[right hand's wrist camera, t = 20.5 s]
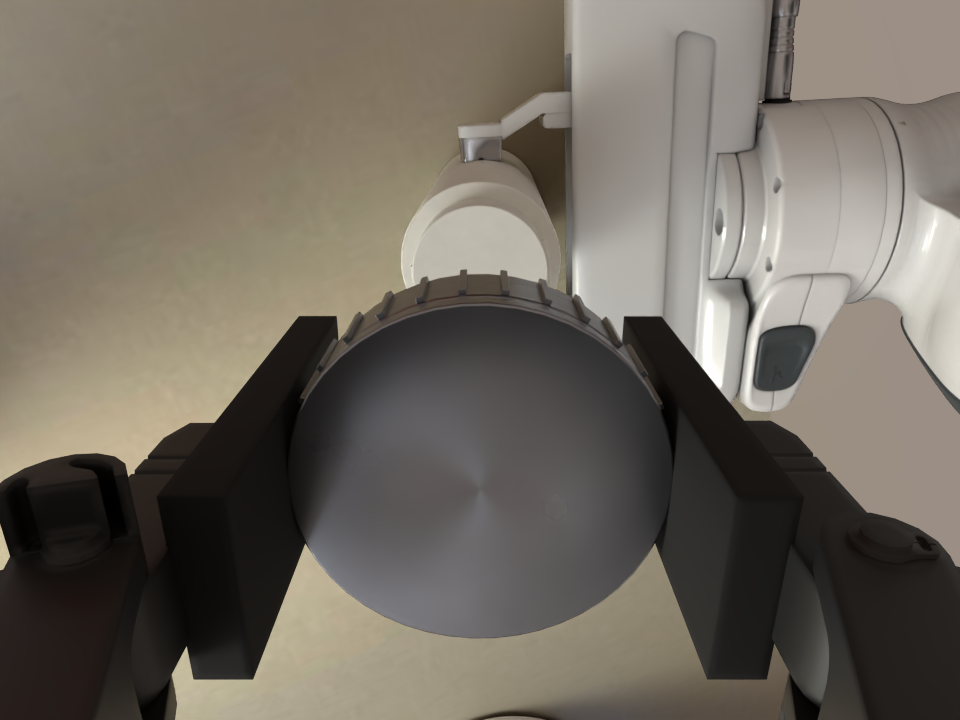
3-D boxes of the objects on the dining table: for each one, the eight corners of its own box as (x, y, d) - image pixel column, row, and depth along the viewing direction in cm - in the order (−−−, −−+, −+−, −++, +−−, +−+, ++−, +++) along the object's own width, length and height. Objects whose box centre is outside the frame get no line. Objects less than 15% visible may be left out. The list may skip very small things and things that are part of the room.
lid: (654, 251, 11) (684, 279, 9) (652, 565, 13) (675, 631, 11) (276, 283, 11) (242, 315, 9) (338, 587, 13) (318, 654, 11)
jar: (456, 265, 38) (433, 374, 23) (417, 169, 36) (367, 223, 22) (551, 230, 37) (586, 321, 23) (517, 130, 35) (532, 160, 21)
